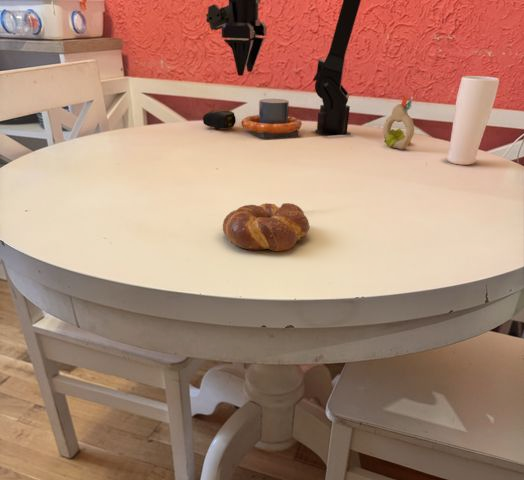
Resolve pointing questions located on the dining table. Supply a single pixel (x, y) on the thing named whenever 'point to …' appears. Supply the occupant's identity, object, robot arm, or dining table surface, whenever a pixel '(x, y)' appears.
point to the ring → (270, 125)
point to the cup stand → (274, 117)
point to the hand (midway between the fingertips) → (245, 73)
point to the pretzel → (266, 226)
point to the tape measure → (219, 119)
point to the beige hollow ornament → (397, 137)
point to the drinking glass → (471, 117)
